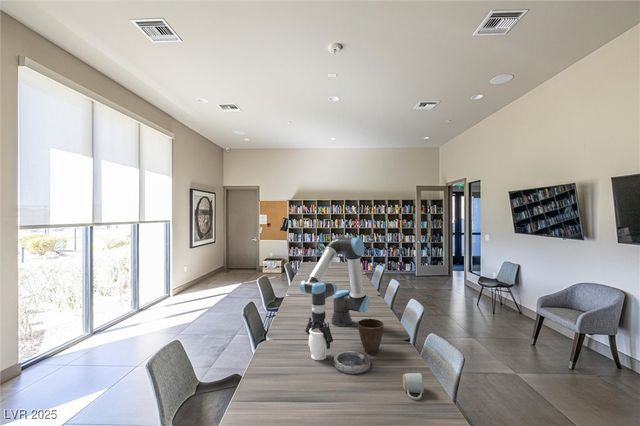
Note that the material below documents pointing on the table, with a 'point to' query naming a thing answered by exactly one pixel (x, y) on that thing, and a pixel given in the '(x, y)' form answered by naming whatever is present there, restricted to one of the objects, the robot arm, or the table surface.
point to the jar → (317, 344)
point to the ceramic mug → (413, 384)
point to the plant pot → (370, 334)
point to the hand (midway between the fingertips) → (318, 350)
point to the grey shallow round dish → (351, 362)
